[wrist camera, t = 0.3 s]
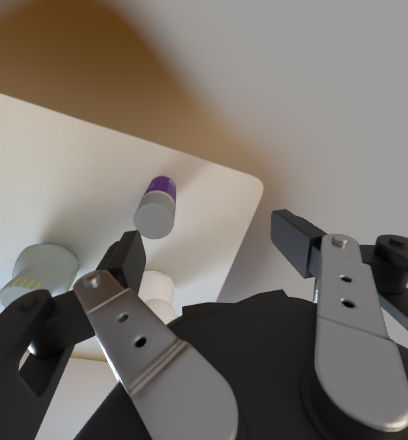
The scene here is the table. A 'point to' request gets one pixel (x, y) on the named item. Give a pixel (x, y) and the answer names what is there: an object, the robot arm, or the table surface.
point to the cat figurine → (158, 294)
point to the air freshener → (41, 272)
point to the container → (157, 209)
